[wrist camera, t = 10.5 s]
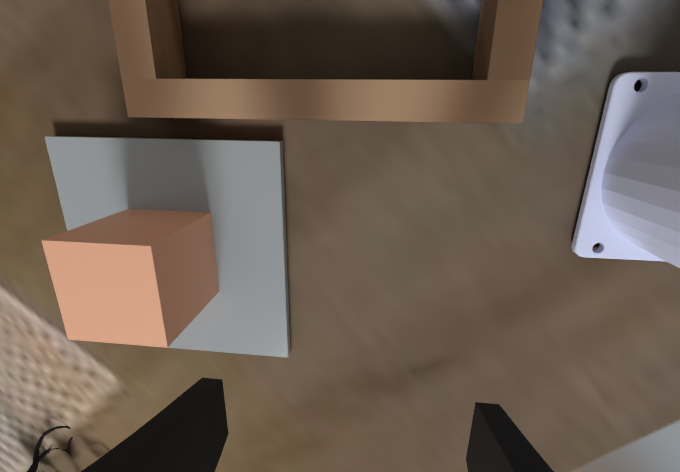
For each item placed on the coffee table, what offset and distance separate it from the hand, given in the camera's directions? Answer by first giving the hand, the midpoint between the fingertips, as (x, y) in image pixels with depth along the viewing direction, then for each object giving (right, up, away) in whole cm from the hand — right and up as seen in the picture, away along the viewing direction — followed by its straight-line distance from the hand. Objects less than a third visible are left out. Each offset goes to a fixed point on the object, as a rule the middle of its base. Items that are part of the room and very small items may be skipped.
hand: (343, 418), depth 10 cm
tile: (-9, +4, +9) cm, 14 cm away
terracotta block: (-9, +4, +9) cm, 13 cm away
